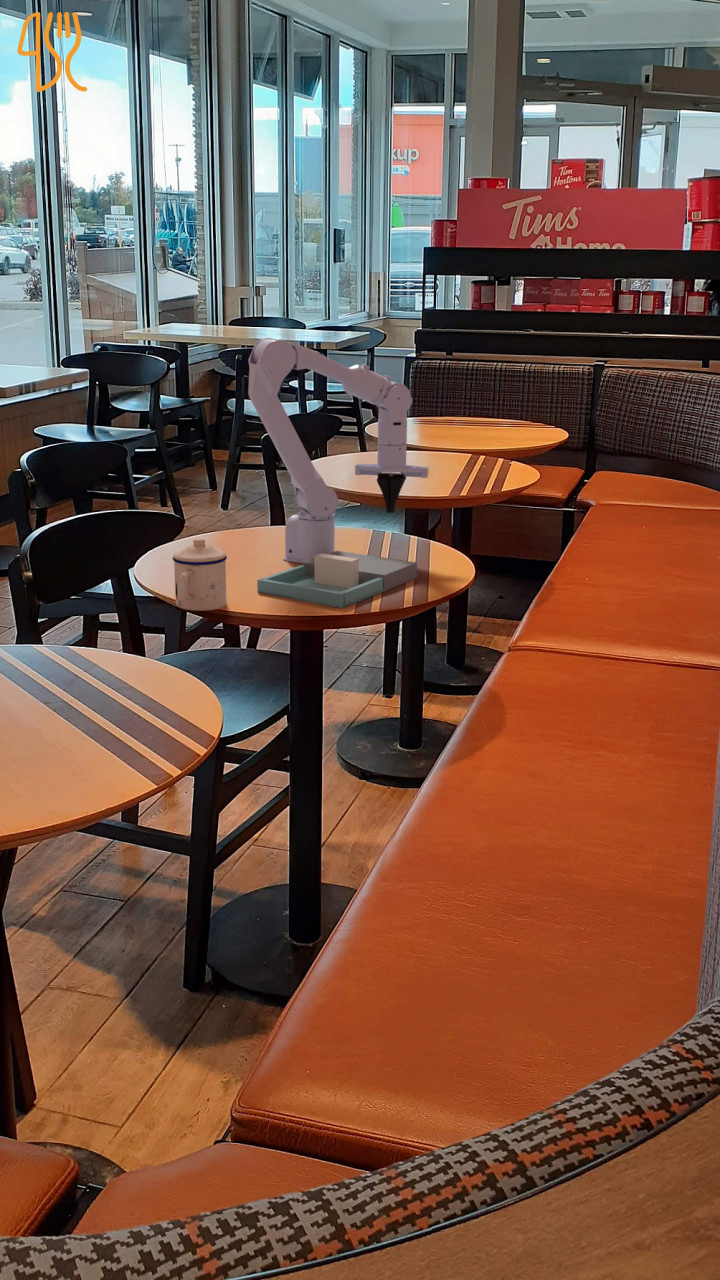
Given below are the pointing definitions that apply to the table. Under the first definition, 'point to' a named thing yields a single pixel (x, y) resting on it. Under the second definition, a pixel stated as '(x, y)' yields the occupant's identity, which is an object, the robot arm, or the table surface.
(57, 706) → the table surface
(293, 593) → the tray
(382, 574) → the bench plate
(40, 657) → the table surface
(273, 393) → the robot arm
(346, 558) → the cream tile
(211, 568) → the teacup with lid
